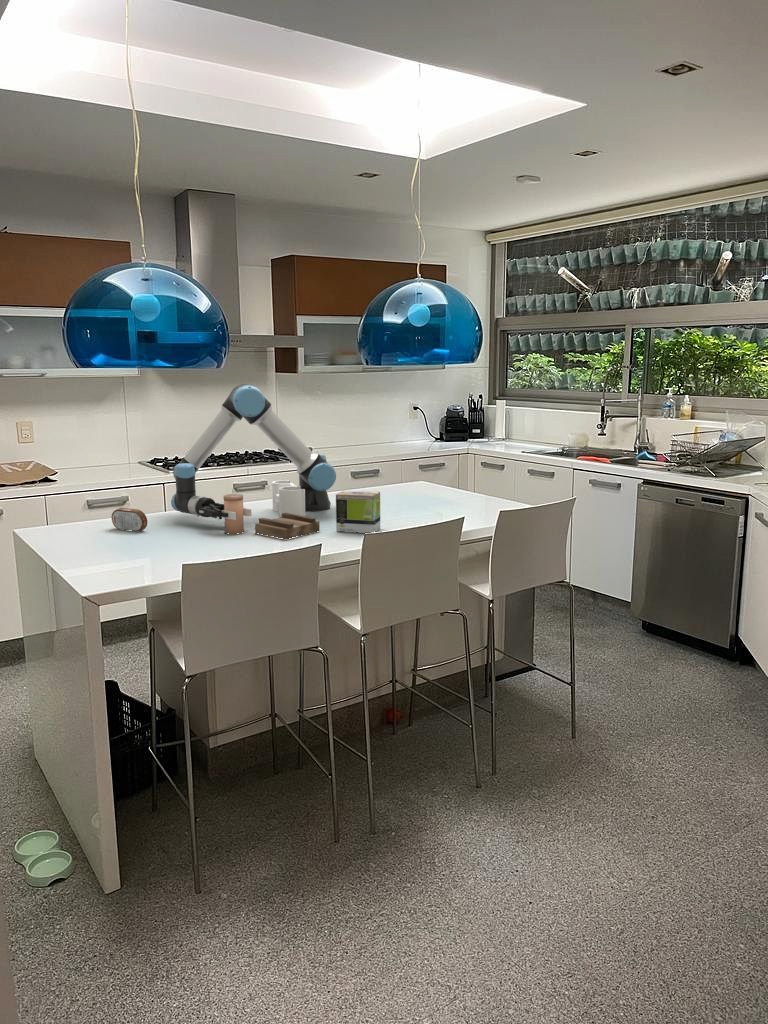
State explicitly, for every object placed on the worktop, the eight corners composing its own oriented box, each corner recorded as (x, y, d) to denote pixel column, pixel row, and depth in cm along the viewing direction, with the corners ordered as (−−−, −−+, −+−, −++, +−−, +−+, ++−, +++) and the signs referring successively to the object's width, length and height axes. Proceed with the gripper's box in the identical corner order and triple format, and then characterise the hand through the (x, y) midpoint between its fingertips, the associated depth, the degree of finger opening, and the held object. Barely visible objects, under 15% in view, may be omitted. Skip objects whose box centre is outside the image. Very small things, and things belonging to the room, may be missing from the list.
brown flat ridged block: (289, 525, 312) (288, 511, 311) (319, 531, 303) (319, 517, 302) (255, 533, 298) (254, 519, 297) (285, 540, 289) (285, 525, 288)
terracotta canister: (235, 529, 306) (234, 493, 303) (248, 531, 302) (247, 495, 299) (220, 532, 300) (219, 496, 297) (233, 535, 296) (232, 498, 293)
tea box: (380, 528, 308) (381, 491, 305) (373, 534, 299) (373, 495, 296) (343, 526, 312) (343, 489, 309) (335, 532, 303) (335, 493, 299)
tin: (148, 531, 302) (147, 509, 300) (143, 533, 299) (141, 511, 297) (116, 527, 307) (115, 506, 305) (110, 529, 304) (109, 508, 302)
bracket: (269, 508, 344) (268, 481, 341) (291, 507, 347) (290, 479, 345) (283, 520, 321) (282, 491, 319) (306, 519, 325) (306, 489, 322)
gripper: (222, 511, 319) (262, 519, 305) (182, 520, 303) (222, 529, 289) (221, 493, 317) (262, 500, 303) (181, 500, 302) (222, 508, 288)
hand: (242, 514), depth 296 cm, fingers closed on terracotta canister, 7 cm apart
